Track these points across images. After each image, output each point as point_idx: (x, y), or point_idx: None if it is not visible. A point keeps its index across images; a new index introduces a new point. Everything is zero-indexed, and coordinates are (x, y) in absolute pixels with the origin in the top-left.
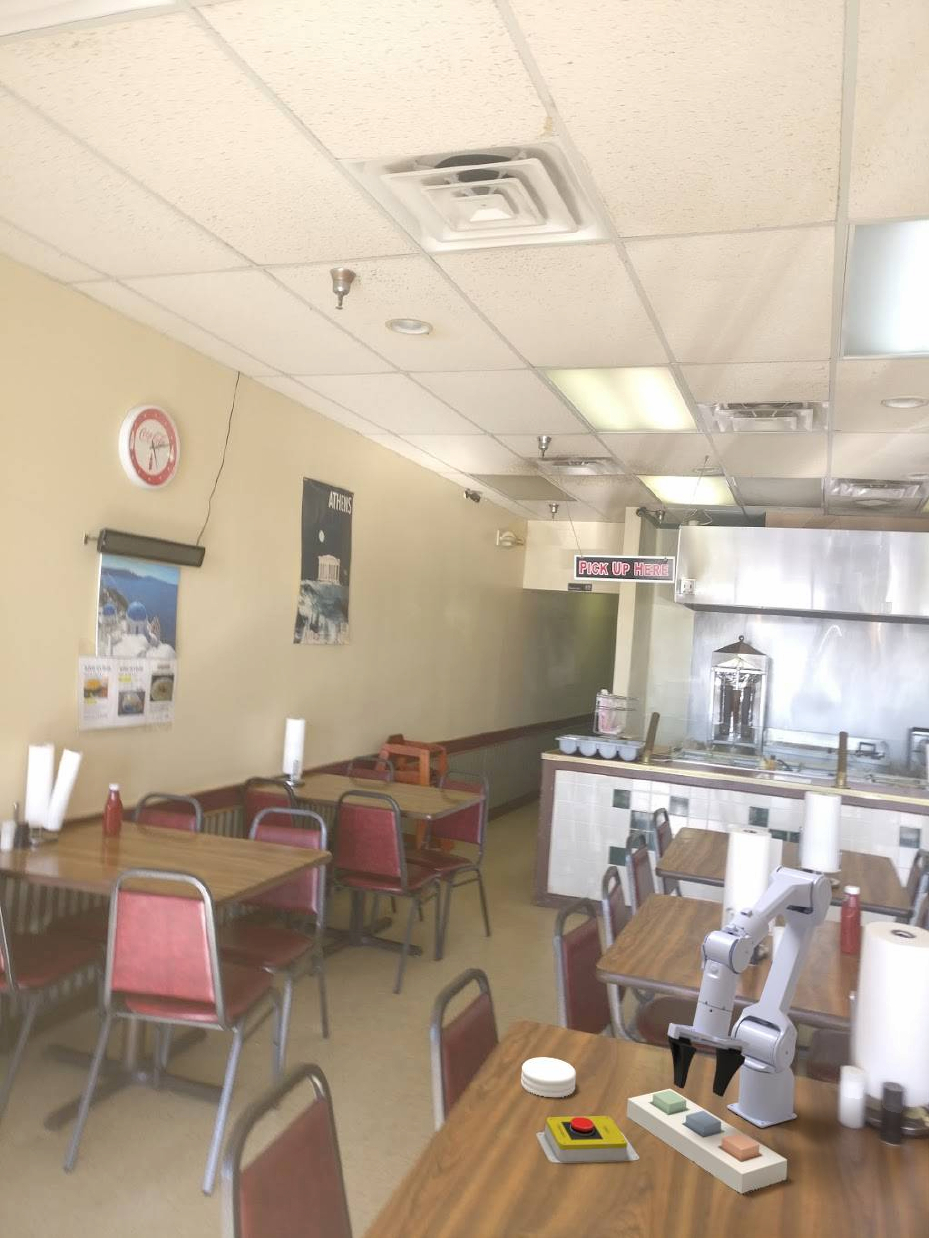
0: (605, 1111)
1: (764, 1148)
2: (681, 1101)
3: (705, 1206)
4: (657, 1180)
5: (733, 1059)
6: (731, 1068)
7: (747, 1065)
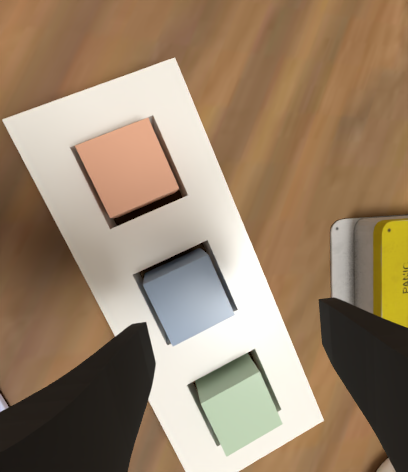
0: (336, 406)
1: (49, 184)
2: (217, 394)
3: (265, 47)
4: (324, 147)
5: (25, 444)
6: (64, 397)
7: None
